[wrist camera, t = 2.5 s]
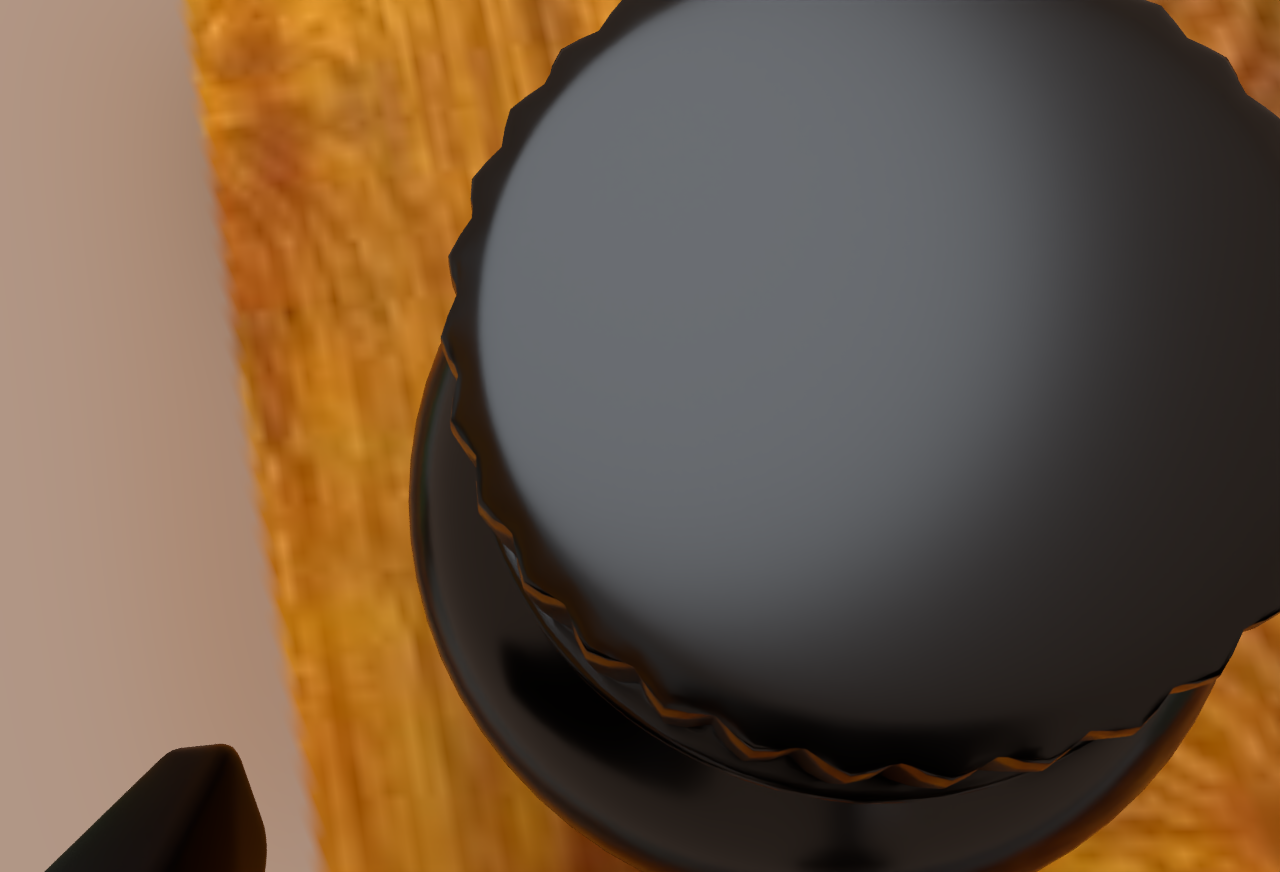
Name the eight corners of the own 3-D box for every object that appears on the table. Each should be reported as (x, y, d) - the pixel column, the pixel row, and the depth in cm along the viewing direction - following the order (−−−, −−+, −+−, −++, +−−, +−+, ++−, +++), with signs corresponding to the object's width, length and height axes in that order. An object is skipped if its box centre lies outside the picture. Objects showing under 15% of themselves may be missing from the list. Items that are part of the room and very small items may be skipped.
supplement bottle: (919, 349, 19) (1329, -331, 7) (1047, 794, 17) (1883, 860, 5) (490, 437, 18) (184, -117, 7) (572, 897, 17) (343, 1205, 5)
